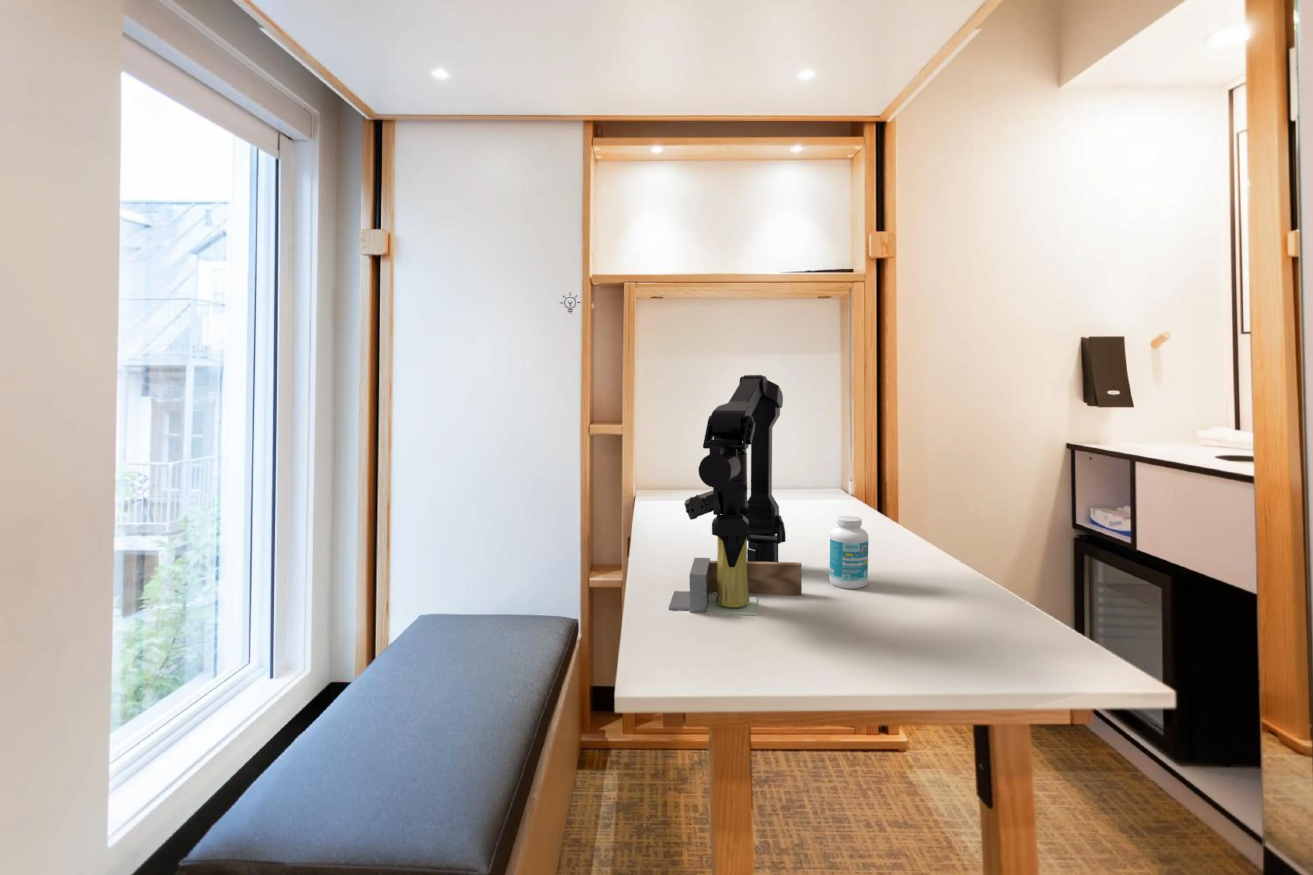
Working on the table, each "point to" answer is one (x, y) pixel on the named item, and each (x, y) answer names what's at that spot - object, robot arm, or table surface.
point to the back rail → (767, 578)
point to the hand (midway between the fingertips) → (732, 562)
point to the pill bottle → (849, 553)
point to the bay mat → (732, 608)
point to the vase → (732, 579)
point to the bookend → (694, 589)
